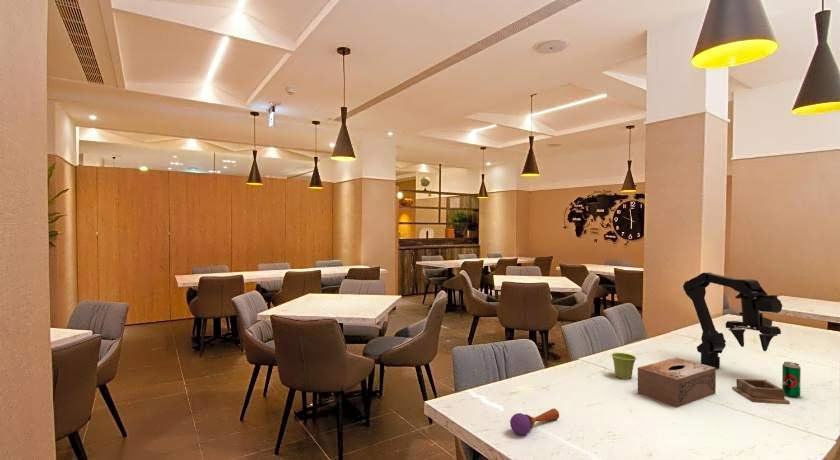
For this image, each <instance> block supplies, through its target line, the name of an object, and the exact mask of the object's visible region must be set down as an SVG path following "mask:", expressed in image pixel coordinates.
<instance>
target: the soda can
mask: <svg viewBox="0 0 840 460" xmlns="http://www.w3.org/2000/svg"><path fill="white" fill-rule="evenodd" d="M801 370H802V369H801V366H800V364H799V363H797V362H794V361H783V363H782V370H781V371H782V375H781V376H782V378H781V379H782V381H781V382H782V384H781V385H782V387H781V389H783V390H785V397H786V396H787V397H790V398H799V397H801V384H802V383H801V379H802V378H801V377H802V376H801V372H802V371H801Z"/></svg>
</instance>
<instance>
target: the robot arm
mask: <svg viewBox="0 0 840 460" xmlns="http://www.w3.org/2000/svg"><path fill="white" fill-rule="evenodd" d="M710 284H715V285H719V286H724V287H727V288H731V289H732V290H734V291H736V292H737V293H738V294H737V295H736V296H735V299H740V304H741V312H739V315H740V316H741V318H742V321H739V320H727V321H726V322H725V328H726V329H728V331H730V332H731V333H732V335H733V336H734V338H735V339H736V340H737V342H738V345H739V346H740V347H742V348H743V347H745V335H744V333H745V332H746V330H752V331H758V332H759V334H758V336H759V341H760V344H761V349H762V351H763V352H767V350H768V348H769V345H770V343H771V342H772V339H773V338H774V337H778V335H782V330H781V328H780V327H779V326H774V325H772V324H773V320H772V319H769V318H768V317H765V316H764V315H763V314H764V313H762V312H765V313H771V314H772V313H774V314H779V313H780V312H782V309H783V303H782V302H781V300H780V299H779V298H778V295H775V294H772V295H771V294H770V295H769V294H768V293H767V292H766V291H765V290H764V289H763V287H762V286H761V284H760V283H759V281H758V280H756V279H752V278H751V279H749V278H745V279H744V278H735V277H734V278H733V277H729V276H725V275H720V274H716V273H713V272H701V273H700V274H698V275H697V276H695V277H692V278H691V279H689V280H687V281H685V282H684V284H683V285H682V287H683V291H684V292H685V294H686V296H687V297H688V298H689V299H690V300H691V301H692V304H693V307H694V309H695V313H696V315H697V318H698V319H697V320H698V321H699V324H700V327H701V328H700V329H701V331H702V333H701V338H700V339H701V343H700V344H699V345H697V346H696V350H697V353H700V364H704V365H707V366H711V367H715V368H716V370H718V369H719V368H720V367H721V357H720V356H719V354H722V353H723V351H724V350H725V347H726V343H727V340H726V339H725V337H724V336H725V335H724V333H723V332H719V331H718V330H716V327H715V325H714V322H713V319H712V316H711V313H710V311H709V307H708V305H707V301H706V298H705V297H706V293H707V291H706V288H707V287H708V286H709V285H710Z"/></svg>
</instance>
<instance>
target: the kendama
mask: <svg viewBox="0 0 840 460" xmlns="http://www.w3.org/2000/svg"><path fill="white" fill-rule="evenodd" d="M559 418H560V413H559V410H558V409H556V408H551V409H549V410H546V411H544V412H543V413H541V414H538V415H537V416H535V417H533V416H532V415H529V414H524V413H521V412H518V413H514V414H513V415H512V416H511V418H510V419H509V424H510V428H511V431H512V432H513V433H514V434H517V435H519V436H523V435H527V434H528V433H529V431H530V430H531V429H532V428H533V427H534V425H535V423H536V422H544V421H553V420H554V421H555V420H558V419H559Z"/></svg>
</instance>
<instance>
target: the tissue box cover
mask: <svg viewBox="0 0 840 460" xmlns="http://www.w3.org/2000/svg"><path fill="white" fill-rule="evenodd" d="M716 372H717V369H716V368H715V367H711V366H707V365H704V364H701V362H700V363H699V362H695V361H692V360H688V359H684V358H680V357H672V358H669V359H665V360H661V361H658V362H653V363H650V364H647V365H642V366H639V367H637V394H638V395H641V396H644V397H646V398H650V399H653V400H654V401H655V400H656V401H658V402H660V403H663V404H666V405H669V406H671V407H674V408H680V407H682V406H685V405H688V404H691V403H693V402H697V401H699V400H702V399H705V398H707V397H710V396H712V395H716V388H717V387H716V386H717V384H716V383H717V379H716V378H717V373H716Z"/></svg>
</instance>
